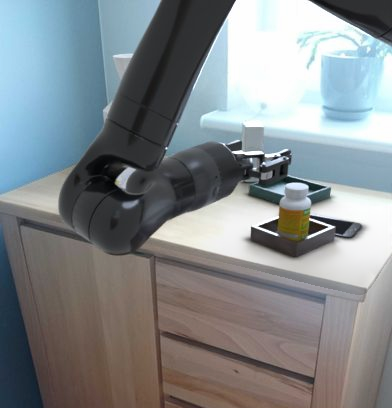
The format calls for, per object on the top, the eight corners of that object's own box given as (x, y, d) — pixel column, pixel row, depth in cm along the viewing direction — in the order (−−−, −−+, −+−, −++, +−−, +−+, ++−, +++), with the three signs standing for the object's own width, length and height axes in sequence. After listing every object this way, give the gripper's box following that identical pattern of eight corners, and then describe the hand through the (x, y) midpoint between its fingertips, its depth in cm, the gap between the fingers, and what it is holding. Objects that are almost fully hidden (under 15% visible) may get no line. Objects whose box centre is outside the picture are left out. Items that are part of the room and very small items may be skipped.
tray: (330, 196, 119) (331, 187, 118) (296, 209, 113) (297, 199, 112) (282, 182, 127) (283, 173, 126) (248, 194, 121) (249, 184, 120)
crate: (334, 240, 100) (336, 226, 98) (295, 257, 94) (297, 243, 92) (288, 224, 106) (289, 211, 105) (250, 239, 100) (250, 226, 99)
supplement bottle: (304, 247, 97) (309, 192, 92) (273, 243, 99) (277, 189, 93) (309, 236, 101) (315, 182, 96) (280, 232, 103) (284, 179, 98)
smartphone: (351, 241, 100) (351, 236, 100) (274, 226, 107) (274, 221, 106) (363, 227, 105) (364, 223, 105) (289, 214, 112) (289, 210, 111)
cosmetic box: (263, 182, 128) (266, 126, 121) (243, 182, 128) (245, 127, 121) (259, 173, 133) (261, 120, 126) (240, 174, 133) (242, 120, 126)
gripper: (242, 157, 67) (308, 132, 77) (153, 139, 74) (225, 118, 85) (240, 217, 71) (303, 186, 81) (156, 195, 78) (224, 168, 89)
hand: (263, 151), depth 83 cm, fingers open, 8 cm apart
